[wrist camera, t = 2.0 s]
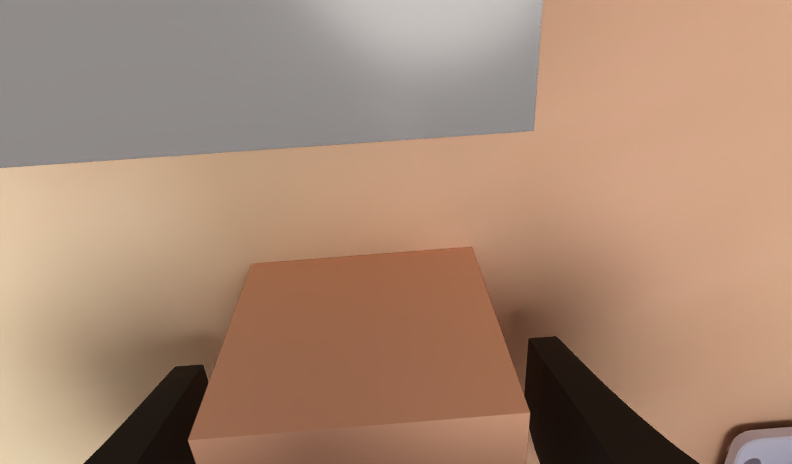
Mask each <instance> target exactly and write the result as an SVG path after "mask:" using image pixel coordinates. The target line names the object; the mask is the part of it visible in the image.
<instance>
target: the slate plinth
mask: <svg viewBox="0 0 792 464" xmlns="http://www.w3.org/2000/svg"><path fill="white" fill-rule="evenodd" d="M542 6H543V0H0V168H7V167H21V166H36V165H50V164H65V163H79V162H93V161H108V160H122V159H137V158H151V157H165V156H180V155H194V154H209V153H223V152H237V151H252V150H266V149H281V148H295V147H310V146H324V145H338V144H353V143H367V142H382V141H396V140H410V139H425V138H439V137H454V136H468V135H482V134H497V133H511V132H526V131H534V122H535V108H536V93H537V79H538V64H539V50H540V35H541V21H542Z"/></svg>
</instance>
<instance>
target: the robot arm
mask: <svg viewBox="0 0 792 464" xmlns="http://www.w3.org/2000/svg"><path fill="white" fill-rule="evenodd" d="M207 386H208V379H207V376H206V373H205V369H204V366H203V365H191V366H178V367H175V368H174V369H173V370H172V371H171V372H170V373H169V374H168V375H167V376H166V377H165V378H164V379H163V380H162V381H161V383H160V384H159V385H158V386H157V387H156V388H155V389H154V390H153V391H152V392H151V393H150V395H149V396H148V397H147V398H146V399H145V400H144V401H143V402H142V403H141V404H140V406H139V407H138V408H137V409H136V410H135V411H134V412H133V413H132V414H131V415H130V416H129V417H128V419H127V420H126V421H125V422H124V423H123V424H122V425H121V426H120V427H119V428H118V429H117V430H116V431H115V432H114V433H113V434H112V435H111V437H110V438H109V439H108V440H107V441H106V442H105V443H104V444H103V445H102V446H101V447H100V448H99V449H98V450H97V451H96V452H95V453H94V454H93V455H92V456H91V457H90V458H89V459H88V460H87V461H86V462H85V463H84V464H196V462H195V459H194V457H193V454H192V451H191V448H190V445H189V442H188V439H189V436H190V433H191V430H192V428H193V425H194V422H195V419H196V417H197V414H198V411H199V408H200V406H201V403H202V400H203V397H204V394H205V392H206V389H207ZM524 397H525V399H526V402H527V405H528V408H529V411H530V421H529V429H530V433H531V437H532V441H533V444H534V448H535V451H536V454H537V456H538V459H539V462H540V464H699V463H698V462H696V461H695V460H694V459H692V458H691V457H690V456H688V455H687V454H685V453H684V452H683V451H681V450H680V449H679V448H678V447H676V446H675V445H674V444H672V443H671V442H670V441H669V440H667V439H666V438H665V437H664V436H662V435H661V434H660V433H659V432H658V431H656V430H655V429H654V428H653V427H652V426H650V425H649V424H648V423H647V422H646V421H645V420H643V419H642V418H641V417H640V416H639V415H638V414H637V413H635V412H634V411H633V410H632V409H631V408H630V407H629V406H628V405H626V404H625V403H624V402H623V401H622V400H621V399H620V398H619V397H618V396H617V395H616V394H615V393H613V392H612V391H611V390H610V389H609V388H608V387H607V386H606V385H605V384H604V383H603V382H602V381H601V380H600V379H599V378H598V377H597V376H596V375H595V374H594V373H593V372H592V371H590V370H589V369H588V368H587V367H586V366H585V365H584V364H583V363H582V362H581V361H580V360H579V359H578V358H577V357H576V356H575V355H574V353H573V352H572V351H571V350H570V349H569V348H568V347H567V346H566V345H565V344H564V343H563V342H562V341H561V340H560V339H558V338H557V337H556V336H554V337H542V338H529V341H528V354H527V367H526V380H525V393H524ZM724 464H792V427H781V428H769V429H757V430H749V431H745V432H743V433H740V434H739V435H737V436H736V437H735V438H734V440H733V441H732V443H731V446H730V449H729V452H728V454H727V457H726V460H725V463H724Z"/></svg>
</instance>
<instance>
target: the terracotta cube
mask: <svg viewBox="0 0 792 464" xmlns="http://www.w3.org/2000/svg"><path fill="white" fill-rule="evenodd" d="M529 421H530V411H529V408H528V405H527V402H526V399H525V397H524V394H523V391H522V388H521V385H520V382H519V380H518V377H517V374H516V371H515V368H514V365H513V363H512V360H511V357H510V354H509V351H508V348H507V346H506V343H505V340H504V337H503V334H502V331H501V328H500V326H499V323H498V320H497V317H496V314H495V311H494V309H493V306H492V303H491V300H490V297H489V294H488V292H487V289H486V286H485V283H484V280H483V277H482V275H481V272H480V269H479V266H478V263H477V260H476V258H475V255H474V252H473V249H472V247H463V248H450V249H437V250H424V251H411V252H398V253H385V254H372V255H359V256H346V257H333V258H320V259H307V260H294V261H281V262H268V263H255V264H251V267H250V270H249V273H248V276H247V278H246V281H245V284H244V287H243V289H242V292H241V295H240V298H239V300H238V303H237V306H236V309H235V311H234V314H233V317H232V320H231V323H230V325H229V328H228V331H227V334H226V336H225V339H224V342H223V345H222V347H221V350H220V353H219V356H218V358H217V361H216V364H215V367H214V370H213V372H212V375H211V378H210V381H209V383H208V386H207V389H206V392H205V394H204V397H203V400H202V403H201V406H200V408H199V411H198V414H197V417H196V419H195V422H194V425H193V428H192V430H191V433H190V436H189V439H188V442H189V445H190V448H191V451H192V454H193V457H194V459H195V462H196V464H526V457H527V445H528V433H529Z"/></svg>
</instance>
